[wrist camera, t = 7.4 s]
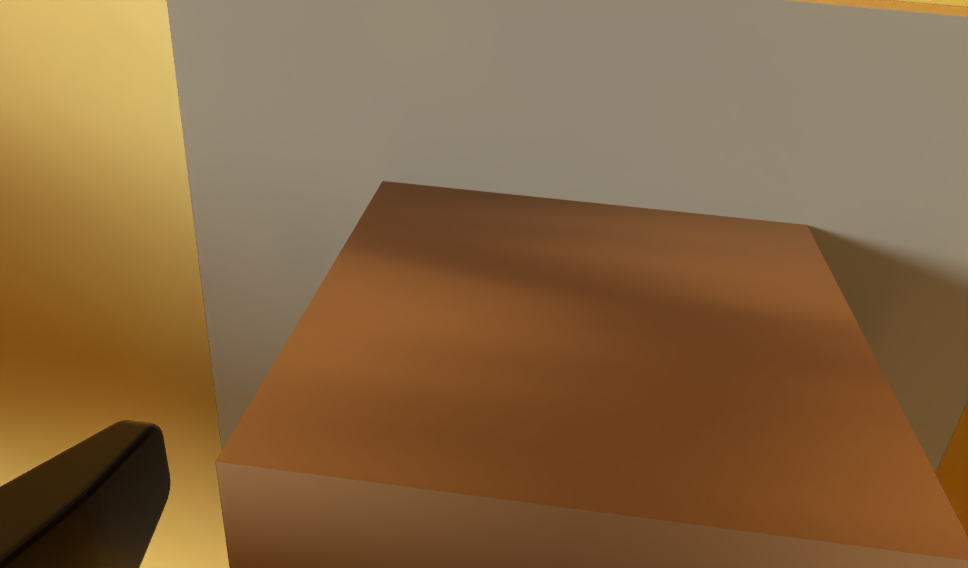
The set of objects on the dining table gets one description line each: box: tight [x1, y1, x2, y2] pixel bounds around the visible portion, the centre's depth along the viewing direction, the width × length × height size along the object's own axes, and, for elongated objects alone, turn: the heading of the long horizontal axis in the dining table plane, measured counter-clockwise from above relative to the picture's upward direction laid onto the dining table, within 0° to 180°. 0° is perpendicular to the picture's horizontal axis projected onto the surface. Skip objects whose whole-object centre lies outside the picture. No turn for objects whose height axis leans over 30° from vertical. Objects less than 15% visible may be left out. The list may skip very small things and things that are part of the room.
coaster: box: [167, 0, 968, 473], centre depth 11 cm, size 10×10×1 cm
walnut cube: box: [215, 181, 968, 568], centre depth 9 cm, size 5×5×5 cm
